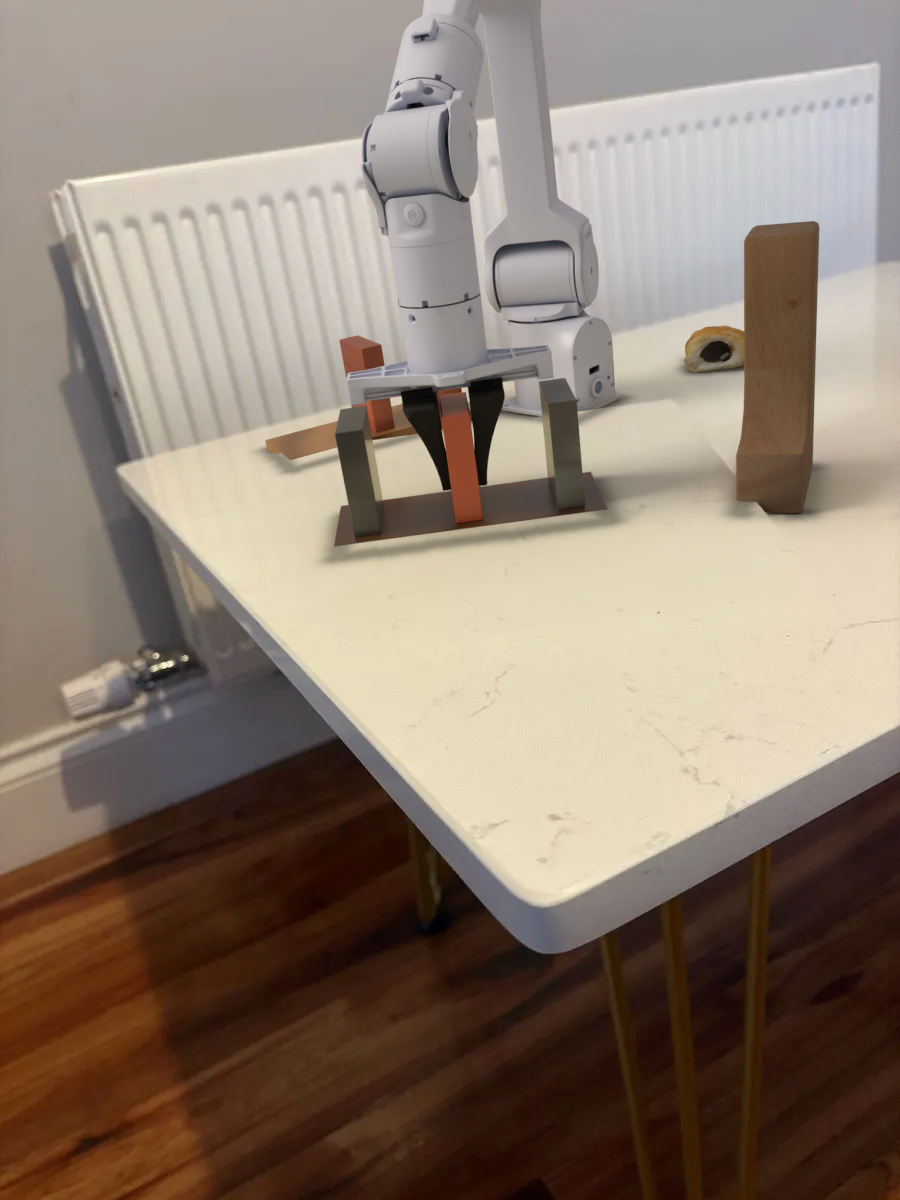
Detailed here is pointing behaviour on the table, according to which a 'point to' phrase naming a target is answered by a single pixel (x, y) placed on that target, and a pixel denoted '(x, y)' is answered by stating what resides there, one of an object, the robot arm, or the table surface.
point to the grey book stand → (499, 502)
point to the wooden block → (778, 365)
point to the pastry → (715, 349)
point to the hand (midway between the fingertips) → (464, 483)
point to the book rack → (380, 413)
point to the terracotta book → (461, 457)
